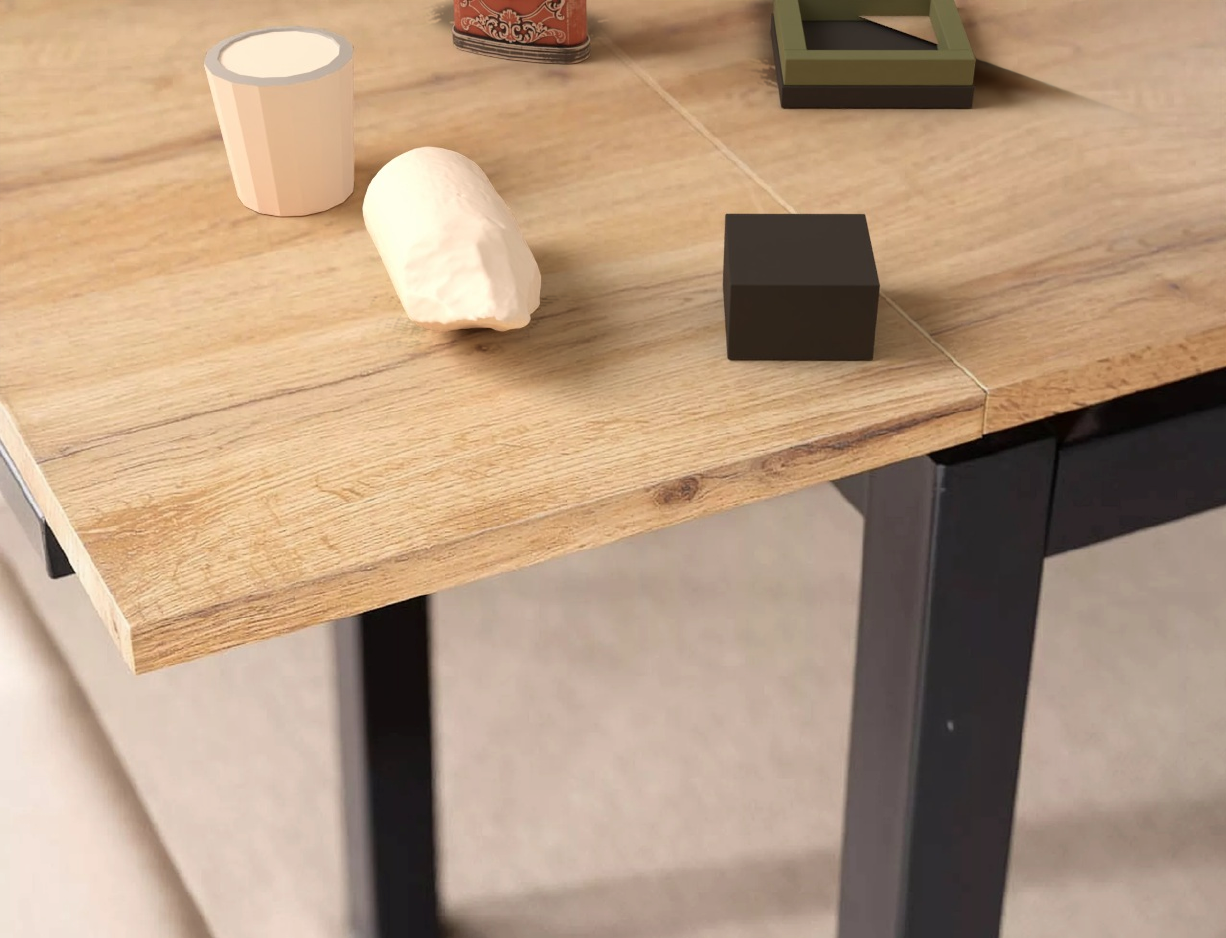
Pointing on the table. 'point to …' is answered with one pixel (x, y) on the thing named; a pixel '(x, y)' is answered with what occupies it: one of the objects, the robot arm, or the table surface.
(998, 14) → the table surface
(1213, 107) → the table surface
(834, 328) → the black block
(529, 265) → the roll
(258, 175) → the peach cup
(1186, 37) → the table surface
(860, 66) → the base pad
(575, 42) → the red decorated tin
